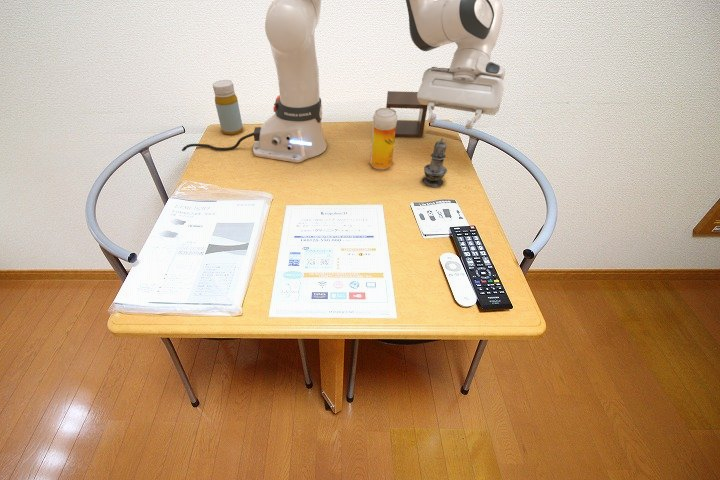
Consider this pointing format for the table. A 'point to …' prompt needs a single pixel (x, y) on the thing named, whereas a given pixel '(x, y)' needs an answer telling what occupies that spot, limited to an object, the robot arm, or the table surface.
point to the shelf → (407, 101)
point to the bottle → (227, 107)
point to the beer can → (383, 138)
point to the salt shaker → (436, 166)
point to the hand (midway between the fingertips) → (449, 125)
